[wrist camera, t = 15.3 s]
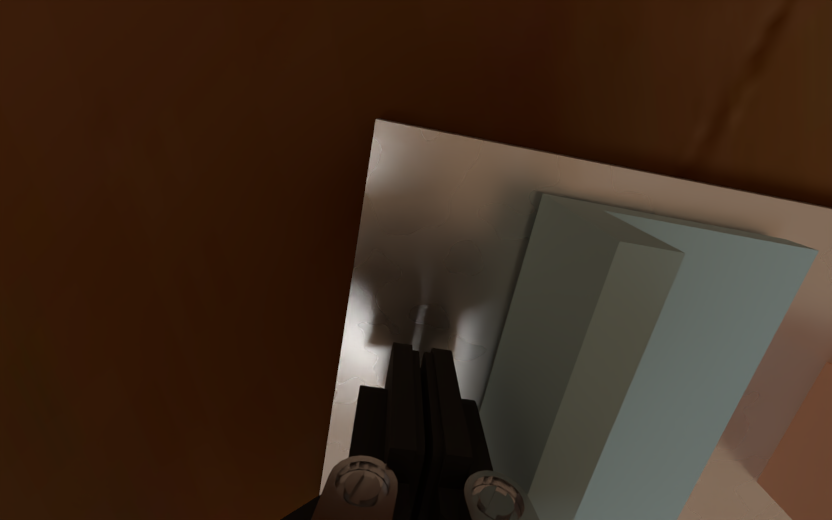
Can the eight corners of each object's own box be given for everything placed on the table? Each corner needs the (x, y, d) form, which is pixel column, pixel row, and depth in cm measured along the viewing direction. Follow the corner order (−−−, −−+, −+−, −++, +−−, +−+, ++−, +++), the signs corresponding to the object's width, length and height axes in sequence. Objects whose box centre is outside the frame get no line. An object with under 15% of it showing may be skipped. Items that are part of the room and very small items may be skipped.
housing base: (320, 496, 16) (248, 842, 9) (378, 118, 12) (332, 140, 4) (834, 555, 18) (1146, 880, 11) (1053, 251, 14) (1877, 434, 6)
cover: (446, 526, 15) (462, 675, 11) (542, 193, 11) (619, 241, 7) (632, 547, 16) (710, 696, 12) (785, 239, 12) (979, 305, 8)
